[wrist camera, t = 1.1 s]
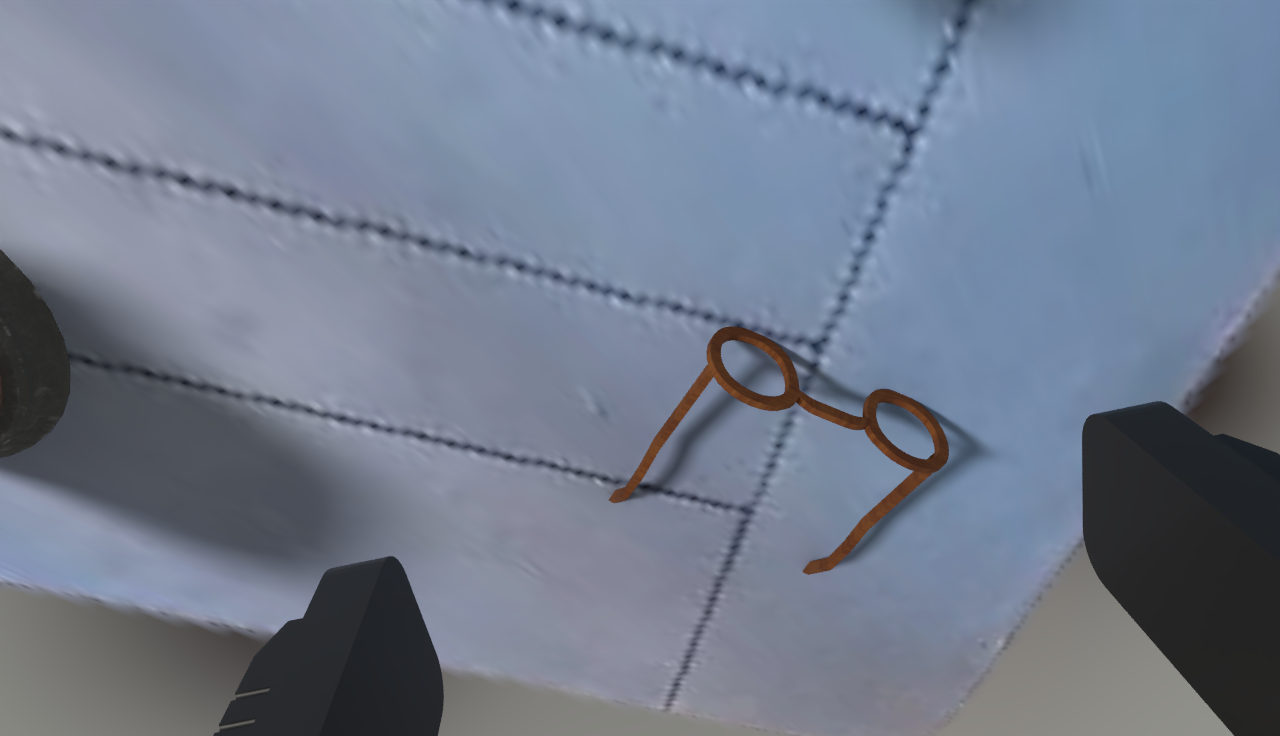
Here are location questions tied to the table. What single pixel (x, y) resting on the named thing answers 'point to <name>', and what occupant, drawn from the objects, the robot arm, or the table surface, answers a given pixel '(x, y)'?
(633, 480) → the glasses
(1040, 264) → the table surface
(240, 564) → the table surface
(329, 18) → the table surface
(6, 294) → the tankard
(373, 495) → the table surface
